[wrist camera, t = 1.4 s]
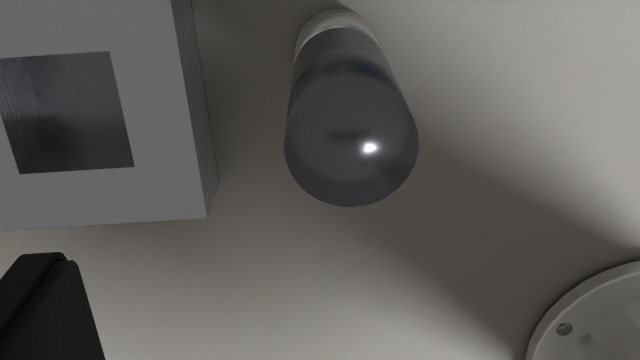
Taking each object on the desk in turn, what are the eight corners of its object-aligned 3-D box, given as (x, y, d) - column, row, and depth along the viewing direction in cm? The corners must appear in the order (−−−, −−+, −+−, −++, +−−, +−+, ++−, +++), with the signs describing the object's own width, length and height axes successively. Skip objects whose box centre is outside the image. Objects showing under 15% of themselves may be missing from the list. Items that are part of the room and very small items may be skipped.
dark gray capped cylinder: (378, 88, 26) (417, 202, 17) (298, 93, 27) (290, 210, 17) (376, 5, 25) (418, 78, 15) (291, 11, 25) (278, 87, 15)
